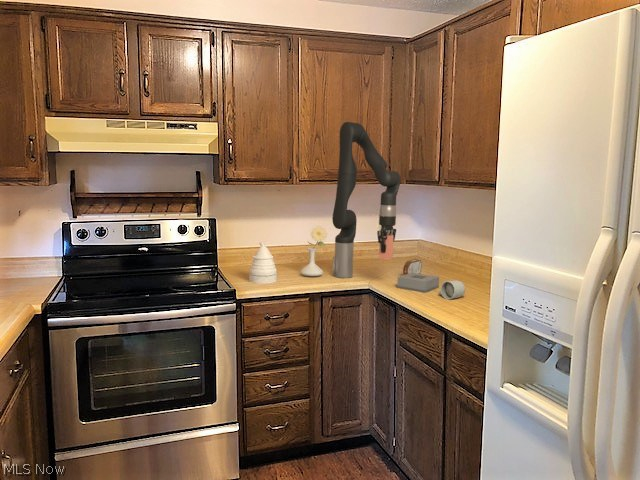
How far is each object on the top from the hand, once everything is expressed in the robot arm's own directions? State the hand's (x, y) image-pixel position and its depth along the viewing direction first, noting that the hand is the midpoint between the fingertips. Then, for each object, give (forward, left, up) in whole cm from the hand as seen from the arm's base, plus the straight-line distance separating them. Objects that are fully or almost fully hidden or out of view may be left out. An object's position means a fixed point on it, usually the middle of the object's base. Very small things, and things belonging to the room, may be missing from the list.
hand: (385, 251), depth 247 cm
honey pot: (-49, -30, -16) cm, 60 cm away
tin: (0, +28, -16) cm, 32 cm away
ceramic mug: (+33, -2, -16) cm, 37 cm away
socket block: (+14, +6, -16) cm, 22 cm away
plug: (0, 0, -3) cm, 3 cm away
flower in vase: (-38, -5, -16) cm, 41 cm away
